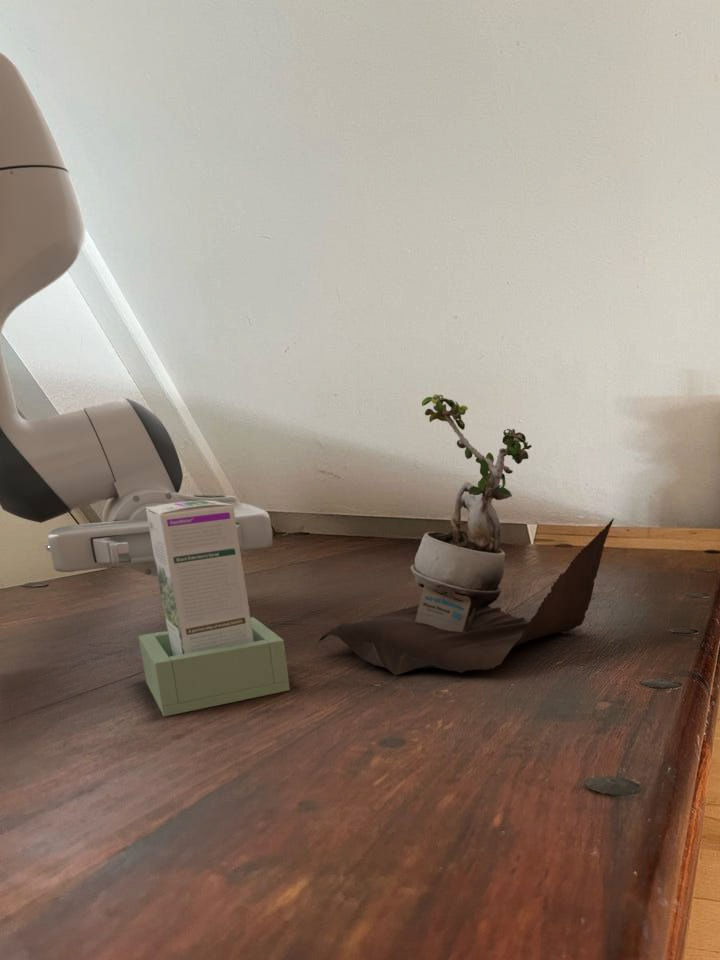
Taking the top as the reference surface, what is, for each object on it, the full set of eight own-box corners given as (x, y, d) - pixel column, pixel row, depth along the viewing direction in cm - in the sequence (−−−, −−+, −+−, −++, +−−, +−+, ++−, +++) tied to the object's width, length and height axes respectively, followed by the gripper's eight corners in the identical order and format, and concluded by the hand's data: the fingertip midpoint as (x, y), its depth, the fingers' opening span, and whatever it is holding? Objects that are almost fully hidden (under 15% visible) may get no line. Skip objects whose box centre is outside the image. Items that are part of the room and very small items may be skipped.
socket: (163, 716, 59) (154, 663, 57) (146, 683, 67) (138, 635, 66) (290, 690, 63) (284, 640, 62) (259, 661, 71) (253, 616, 70)
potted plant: (430, 631, 88) (488, 410, 81) (572, 696, 79) (650, 454, 72) (303, 647, 71) (363, 371, 65) (464, 732, 62) (553, 421, 56)
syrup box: (261, 677, 64) (238, 501, 60) (188, 694, 61) (158, 509, 57) (240, 662, 69) (217, 497, 65) (171, 676, 66) (142, 504, 62)
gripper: (38, 511, 76) (40, 524, 64) (248, 493, 85) (283, 502, 73) (50, 575, 77) (55, 598, 66) (255, 550, 87) (290, 567, 75)
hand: (177, 547), depth 70 cm, fingers open, 8 cm apart
